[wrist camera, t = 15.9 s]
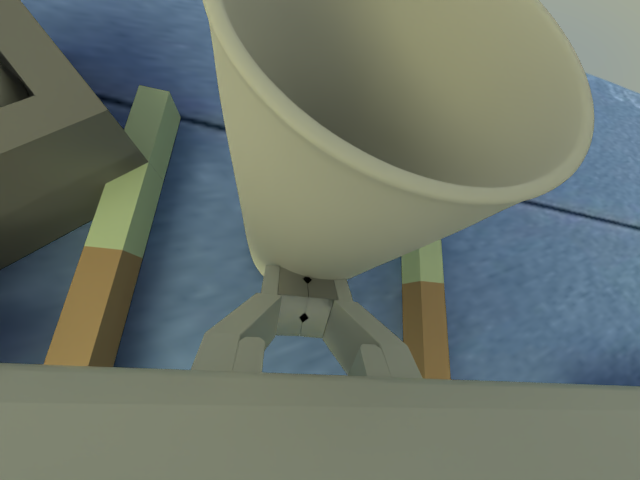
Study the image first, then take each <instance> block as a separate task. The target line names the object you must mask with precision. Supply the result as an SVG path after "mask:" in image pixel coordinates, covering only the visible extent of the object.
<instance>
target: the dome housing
mask: <svg viewBox="0 0 640 480" xmlns="http://www.w3.org/2000/svg"><path fill="white" fill-rule="evenodd" d="M0 62H1V63H2V64H3V65H4V66H5V67H6V68H8V69H9V70H10V71H11V72H12V73H13V74H14V75H15V76H16V77H17V78H18V79H19V80H20V82H21V83H22V84H23V86H24V87H25V89H26V91H27V94H28V96H29V98H26V99H23V100H21V101H18V102H15V103H12V104H9V105H7V106H4V107H1V108H0V270H1V269H2V268H4V267H6V266H8V265H10V264H12V263H14V262H15V261H17V260H19V259H21V258H23V257H25V256H26V255H28V254H30V253H32V252H34V251H36V250H38V249H39V248H41V247H43V246H45V245H47V244H49V243H50V242H52V241H54V240H56V239H58V238H60V237H62V236H63V235H65V234H67V233H69V232H71V231H73V230H74V229H76V228H78V227H80V226H82V225H84V224H86V223H87V222H89V221H91V220H93V219H94V216H95V213H96V210H97V207H98V204H99V201H100V198H101V195H102V192H103V190H104V187H105V184H106V183H108V182H110V181H112V180H114V179H116V178H118V177H120V176H122V175H124V174H126V173H128V172H130V171H132V170H134V169H136V168H138V167H140V166H142V165H144V164H146V163H148V160H147V159H146V158H145V157H144V155H143V154H142V153H141V152H140V150H139V149H138V148H137V146H136V145H135V144H134V143H133V141H132V140H131V139H130V137H129V136H128V135H127V134H126V132H125V131H124V130H123V128H122V127H121V126H120V125H119V123H118V122H117V121H116V120H115V118H114V117H113V116H112V114H111V113H110V112H109V111H108V109H107V108H106V107H105V106H104V104H103V103H102V102H101V101H100V99H99V98H98V97H97V96H96V94H95V93H94V92H93V91H92V89H91V88H90V87H89V86H88V84H87V83H86V82H85V81H84V79H83V78H82V77H81V76H80V74H79V73H78V72H77V71H76V69H75V68H74V67H73V66H72V64H71V63H70V62H69V61H68V59H67V58H66V57H65V56H64V54H63V53H62V52H61V51H60V49H59V48H58V47H57V46H56V44H55V43H54V42H53V41H52V39H51V38H50V37H49V36H48V34H47V33H46V32H45V31H44V29H43V28H42V27H41V26H40V24H39V23H38V22H37V21H36V19H35V18H34V17H33V16H32V14H31V13H30V12H29V11H28V9H27V8H26V7H25V6H24V4H23V3H22V2H21V1H20V0H0ZM150 165H151V164H150ZM154 170H155V169H154ZM161 179H162V178H161Z"/></svg>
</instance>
